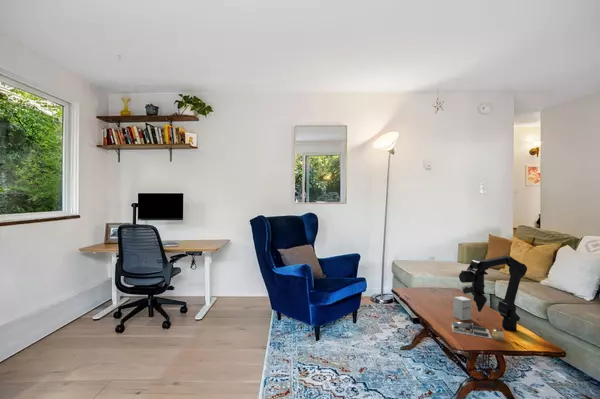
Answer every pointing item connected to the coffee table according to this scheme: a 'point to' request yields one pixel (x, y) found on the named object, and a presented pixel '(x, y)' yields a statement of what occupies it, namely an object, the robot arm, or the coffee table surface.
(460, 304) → the supplement box
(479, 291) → the robot arm
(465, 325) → the pipe run
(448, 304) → the coffee table surface
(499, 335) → the valve
